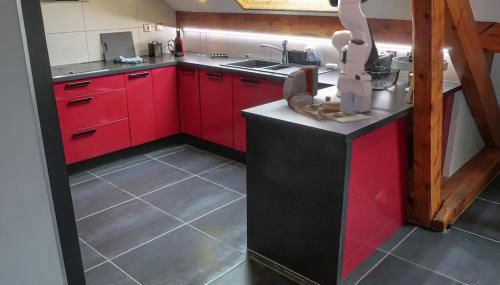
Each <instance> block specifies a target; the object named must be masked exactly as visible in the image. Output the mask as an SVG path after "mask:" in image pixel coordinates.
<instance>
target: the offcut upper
mask: <svg viewBox="0 0 500 285" xmlns="http://www.w3.org/2000/svg"><path fill="white" fill-rule="evenodd" d="M321 103H322V108H323V109H340V101H325V100H322V101H321Z"/></svg>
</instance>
